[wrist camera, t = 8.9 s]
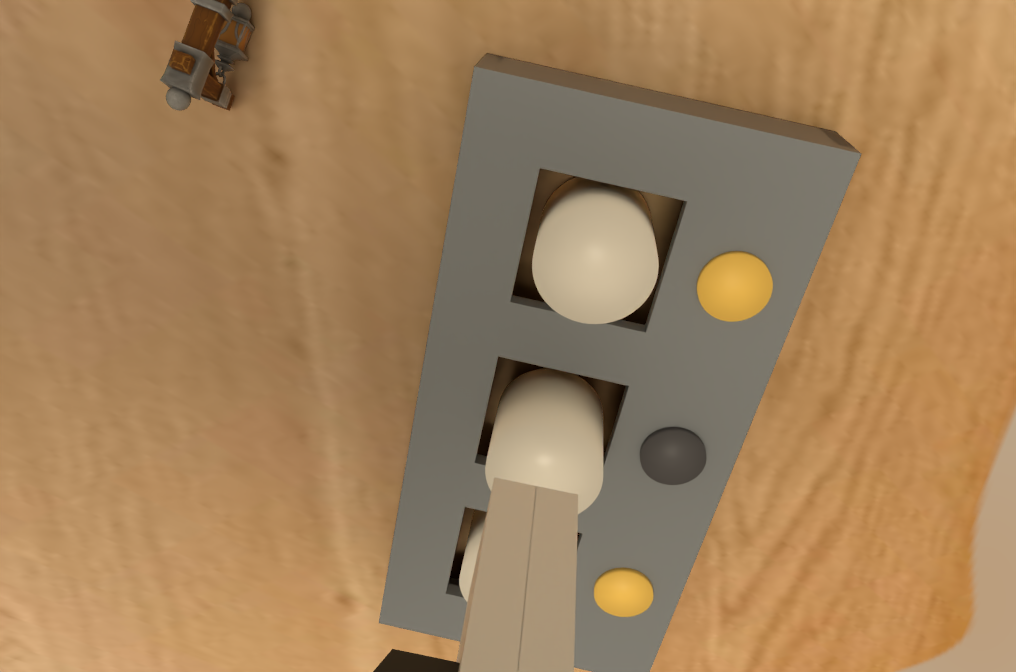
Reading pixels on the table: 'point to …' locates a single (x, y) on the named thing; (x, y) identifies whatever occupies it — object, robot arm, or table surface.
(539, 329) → the console
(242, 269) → the table surface
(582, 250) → the button
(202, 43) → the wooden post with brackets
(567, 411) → the button
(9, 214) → the table surface
